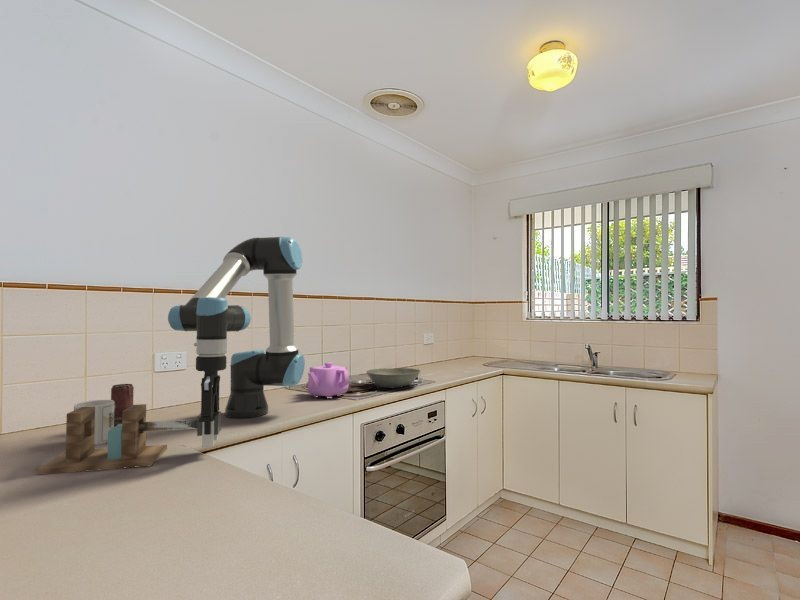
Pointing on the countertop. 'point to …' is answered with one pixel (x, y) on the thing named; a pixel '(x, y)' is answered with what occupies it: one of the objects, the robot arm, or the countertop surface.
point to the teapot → (328, 380)
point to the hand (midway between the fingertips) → (209, 443)
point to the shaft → (180, 424)
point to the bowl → (393, 376)
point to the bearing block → (88, 458)
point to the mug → (101, 418)
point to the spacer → (115, 443)
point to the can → (121, 400)
